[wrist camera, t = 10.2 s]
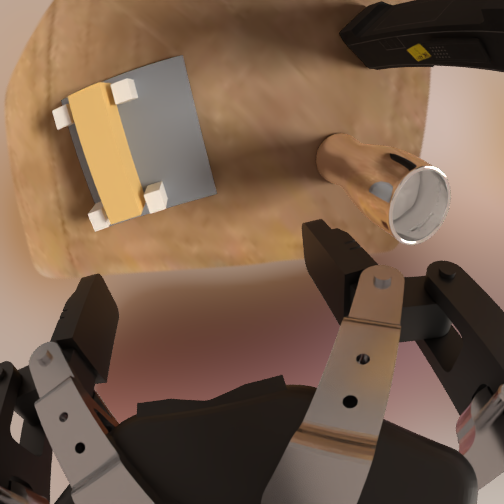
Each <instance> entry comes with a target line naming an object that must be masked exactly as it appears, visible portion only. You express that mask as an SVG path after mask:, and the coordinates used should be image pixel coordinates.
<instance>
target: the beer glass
mask: <svg viewBox="0 0 504 504" xmlns="http://www.w3.org/2000/svg"><path fill="white" fill-rule="evenodd" d="M316 165H317V169H318V171H319V173H320V174H321V176H322V177H323V178H324V179H325V180H327V181H329V182H331V183H333V184H337V185H340V186H341V187H342V188H343V189H344V191H345V192H346V194H347V195H348V196H349V198H350V199H351V200H352V202H353V203H354V204H355V205H356V207H357V208H358V209H359V210H360V211H361V212H362V213H363V214H364V215H365V216H366V217H367V218H368V219H369V220H371V221H372V222H373V223H374V224H376V225H377V226H378V227H380V228H381V229H383V230H384V231H385V232H387V233H388V234H390V235H392V236H393V237H394V238H396V239H397V240H398V241H399V242H401V243H403V244H406V245H416V244H420V243H422V242H424V241H426V240H428V239H429V238H430V237H432V236H433V235H434V234H435V233H436V232H437V231H438V229H439V228H440V226H441V225H442V224H443V222H444V220H445V218H446V216H447V213H448V210H449V206H450V200H451V190H450V185H449V182H448V179H447V177H446V175H445V174H444V173H443V172H442V171H441V170H440V169H438V168H437V167H434V166H432V165H431V164H429V163H427V162H426V161H424V160H422V159H420V158H419V157H417V156H415V155H413V154H411V153H408V152H406V151H404V150H401V149H398V148H395V147H390V146H384V145H374V144H362V143H360V142H359V141H358V140H356V139H355V138H354V137H352V136H350V135H348V134H344V133H338V134H333V135H331V136H329V137H327V138H326V139H325V140H324V141H323V142H322V143H321V145H320V146H319V148H318V151H317V154H316Z"/></svg>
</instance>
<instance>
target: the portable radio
mask: <svg viewBox="0 0 504 504" xmlns="http://www.w3.org/2000/svg"><path fill="white" fill-rule="evenodd" d="M339 34H340V36H341V38H342V39H343V41H344V42H345V43H346V45H347V46H348V47H349V48H350V49H351V50H352V51H353V52H354V53H355V54H356V55H357V56H358V57H359V59H360V60H361V61H362V62H363V63H364V64H365V65H366V66H367V67H368V68H369V69H375V70H379V69H387V68H398V67H433V66H434V65H437V66H456V67H468V68H478V69H485V70H493V71H499V72H504V0H414V1H410V2H406V3H401V4H397V5H390V4H387V3H385V2H382V1H381V2H378V3H375V4H372V5H369V6H367V7H366V8H365V9H364V10H363V11H362V12H361V13H359V14H358V15H357V16H356V17H355V18H354V19H353V20H352V21H351V22H350V23H349V24H348V25H347V26H346V27H345V28H344V29H343V30H342V31H341V32H340V33H339Z"/></svg>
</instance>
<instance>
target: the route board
mask: <svg viewBox="0 0 504 504" xmlns="http://www.w3.org/2000/svg"><path fill="white" fill-rule="evenodd" d="M103 82H104V83H111V84H110V85H111V89H112V93H113V97H114V100H115V104H117V108H118V111H119V115H120V119H121V122H122V126H123V129H124V132H125V136H126V139H127V142H128V146H129V149H130V152H131V155H132V159H133V162H134V165H135V168H136V171H137V174H138V177H139V180H140V183H141V186H142V189H143V192H144V198H145V201H146V203H145V205H144V208H143V211H142V213H141V215H139V216H142V215H146V214H149V213H150V214H151V213H154V212H157V211H160V210H164V209H166V208H169V207H172V206H176V205H179V204H182V203H186V202H189V201H193V200H197V199H200V198H204V197H207V196H211V195H215V194H217V191H216V188H215V184H214V180H213V176H212V172H211V168H210V164H209V160H208V156H207V153H206V149H205V145H204V141H203V137H202V133H201V129H200V125H199V121H198V117H197V113H196V108H195V104H194V100H193V96H192V92H191V88H190V84H189V80H188V75H187V71H186V67H185V63H184V59H183V55H181V56H177V57H173V58H170V59H166V60H163V61H159V62H156V63H153V64H150V65H147V66H144V67H141V68H138V69H135V70H132V71H129V72H126V73H123V74H121V75H118V76H115V77H113V78H110V79H108V80H105V81H103ZM61 102H62V106H61V107H59V108H57V109H55V110H53V111H52V112H53V116H54V120H55V123H56V127H57V130H59V129H61V128H64V127H67V126H68V127H69V130H70V134H71V137H72V140H73V143H74V147H75V150H76V153H77V156H78V159H79V162H80V165H81V167H82V170H83V173H84V176H85V179H86V181H87V184H88V187H89V189H90V192H91V195H92V197H93V200H94V202H95V205H94V206H93V208H92V209H91V210H90V212H89V213H88V216H89V219H90V221H91V223H92V226H93V228H94V230H95V231H98V230H101V229H104V228H107V227H109V226H111V224H110V221H109V219H108V216H107V214H106V211H105V209H104V206H103V204H102V201H101V199H100V196H99V193H98V191H97V188H96V186H95V183H94V180H93V177H92V175H91V172H90V169H89V166H88V163H87V160H86V157H85V154H84V151H83V148H82V145H81V142H80V139H79V135H78V132H77V129H76V125H75V122H74V119H73V115H72V111H71V108H70V104H69V100H68V97H67V98H65V99H63V100H61ZM139 216H136V217H139ZM136 217H133V218H136ZM133 218H130V219H133ZM130 219H127V220H130ZM127 220H124V221H127ZM124 221H121V222H124ZM118 223H120V222H118ZM115 224H117V223H115ZM112 225H114V224H112Z"/></svg>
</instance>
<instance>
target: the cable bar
mask: <svg viewBox="0 0 504 504" xmlns="http://www.w3.org/2000/svg"><path fill="white" fill-rule="evenodd" d="M110 84H111V83H104V82H98V83H96V84H93V85H91V86H89V87H87V88H84V89H82V90H80V91H78V92H76V93H73V94H71V95H69V96H68V100H69V104H70V108H71V111H72V115H73V119H74V122H75V125H76V129H77V132H78V135H79V139H80V142H81V145H82V148H83V151H84V154H85V157H86V160H87V163H88V166H89V169H90V172H91V175H92V177H93V180H94V183H95V186H96V188H97V191H98V193H99V196H100V199H101V201H102V204H103V206H104V209H105V211H106V214H107V216H108V219H109V221H110V224H111V225H112V224H115V223H118V222H121V221H124V220H127V219H130V218H133V217H136V216H139V215H141V213H142V211H143V208H144V205H145V203H146V201H145V198H144V192H143V189H142V186H141V183H140V180H139V177H138V174H137V171H136V168H135V165H134V162H133V159H132V155H131V152H130V149H129V146H128V142H127V139H126V136H125V132H124V129H123V126H122V122H121V119H120V115H119V111H118V108H117V104H115V100H114V97H113V93H112V89H111V85H110Z"/></svg>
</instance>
